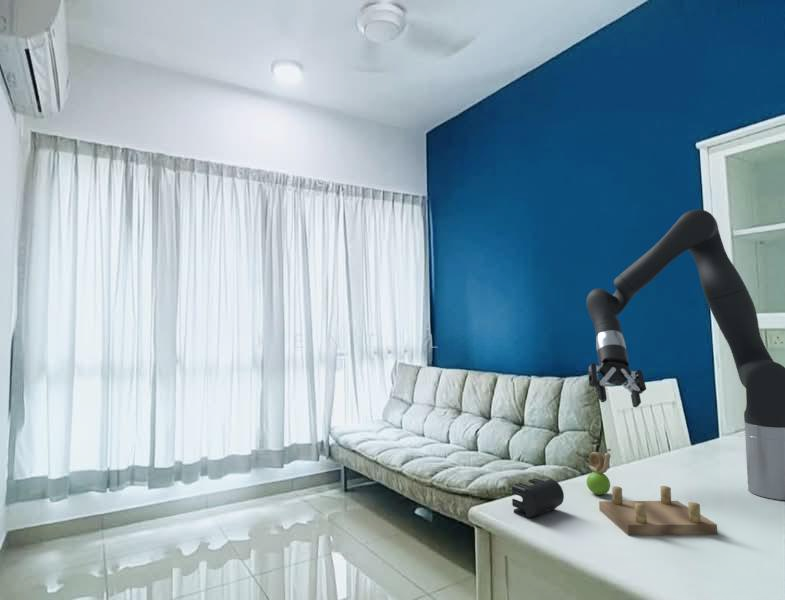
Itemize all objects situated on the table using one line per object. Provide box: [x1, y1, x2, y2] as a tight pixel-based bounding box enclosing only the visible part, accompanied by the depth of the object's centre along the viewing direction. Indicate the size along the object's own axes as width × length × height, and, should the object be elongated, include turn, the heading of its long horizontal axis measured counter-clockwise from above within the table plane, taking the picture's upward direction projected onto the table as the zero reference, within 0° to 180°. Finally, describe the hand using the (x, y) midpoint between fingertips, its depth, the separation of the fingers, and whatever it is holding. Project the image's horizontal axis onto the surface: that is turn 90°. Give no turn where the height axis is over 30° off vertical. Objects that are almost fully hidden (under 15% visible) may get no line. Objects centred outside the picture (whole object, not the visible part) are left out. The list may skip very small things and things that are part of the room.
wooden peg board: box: [598, 485, 718, 536], centre depth 100 cm, size 18×13×6 cm
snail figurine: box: [586, 448, 612, 496], centre depth 117 cm, size 5×6×12 cm
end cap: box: [511, 477, 565, 519], centre depth 106 cm, size 10×7×7 cm
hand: (620, 403), depth 122 cm, fingers open, 8 cm apart
